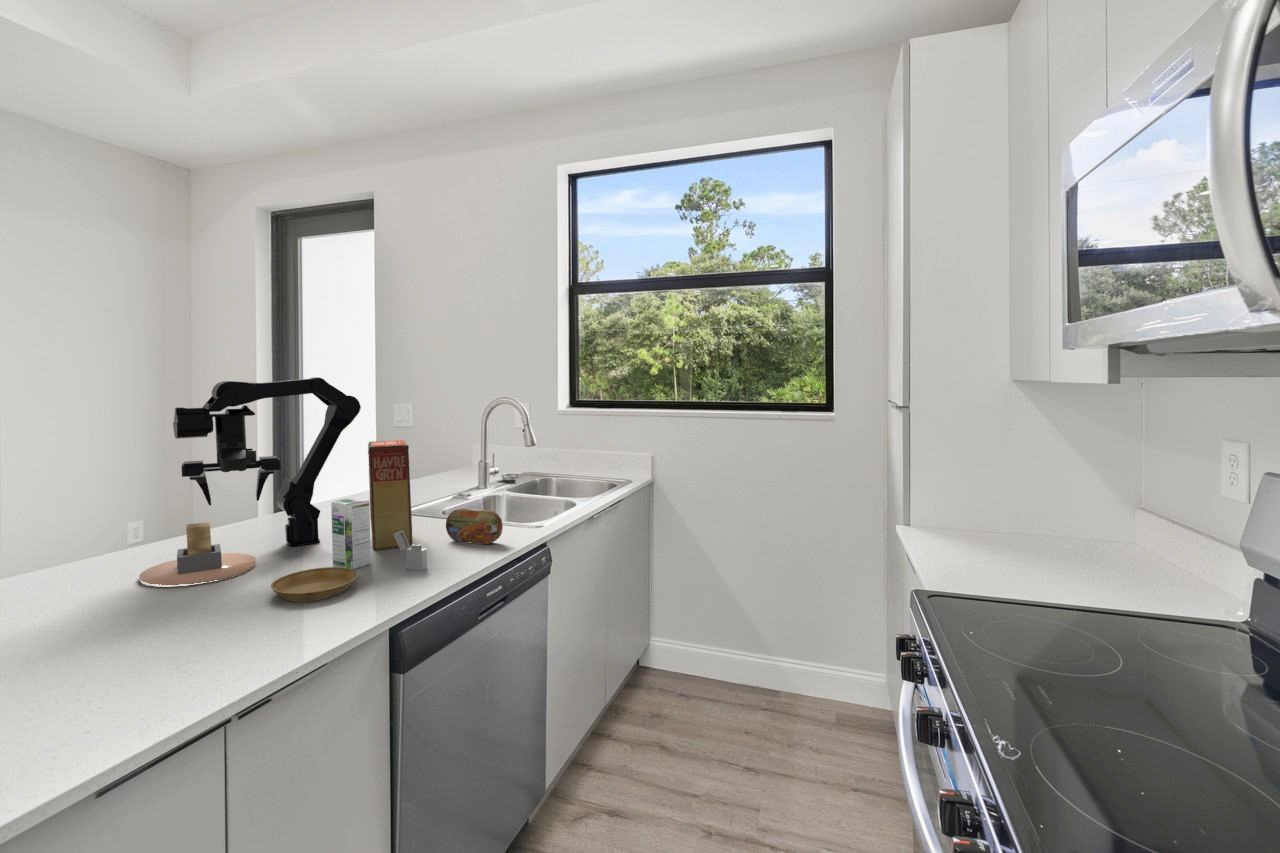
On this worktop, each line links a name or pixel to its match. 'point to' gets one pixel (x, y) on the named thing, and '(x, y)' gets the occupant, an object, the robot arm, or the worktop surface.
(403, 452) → the food packaging
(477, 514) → the tin
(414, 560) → the lighter
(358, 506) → the syrup box
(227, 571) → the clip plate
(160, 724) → the worktop surface
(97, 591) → the worktop surface
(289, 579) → the plant saucer
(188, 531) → the oak peg
